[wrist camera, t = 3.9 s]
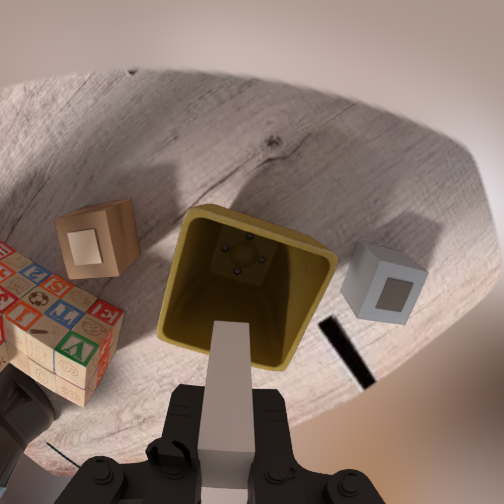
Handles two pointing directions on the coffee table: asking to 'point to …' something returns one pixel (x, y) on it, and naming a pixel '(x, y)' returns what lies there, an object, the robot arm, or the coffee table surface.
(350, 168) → the coffee table surface
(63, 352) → the stack of blocks
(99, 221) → the walnut cube marked
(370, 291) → the grey cube marked
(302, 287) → the flower pot
